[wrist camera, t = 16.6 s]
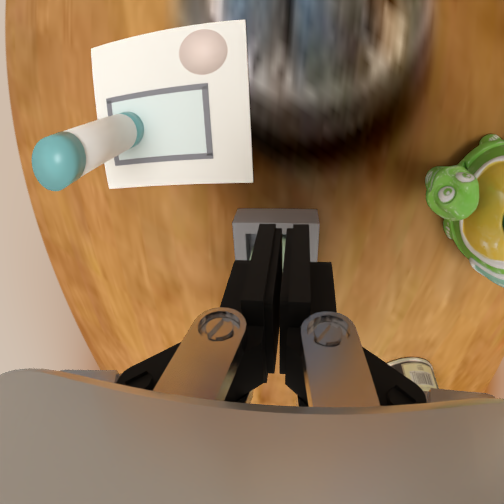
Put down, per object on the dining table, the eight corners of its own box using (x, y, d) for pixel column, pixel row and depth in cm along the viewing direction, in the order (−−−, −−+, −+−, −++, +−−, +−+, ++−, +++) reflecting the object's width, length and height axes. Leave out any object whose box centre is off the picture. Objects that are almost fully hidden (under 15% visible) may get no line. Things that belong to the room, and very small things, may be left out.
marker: (142, 108, 25) (67, 132, 15) (146, 146, 26) (77, 188, 17) (108, 114, 25) (27, 142, 16) (113, 150, 27) (38, 193, 17)
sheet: (245, 20, 21) (244, 19, 20) (253, 181, 28) (252, 183, 27) (92, 48, 22) (90, 48, 22) (110, 187, 29) (108, 189, 29)
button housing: (316, 209, 28) (319, 223, 26) (313, 275, 32) (314, 294, 29) (237, 208, 29) (232, 222, 26) (242, 274, 32) (238, 292, 30)
